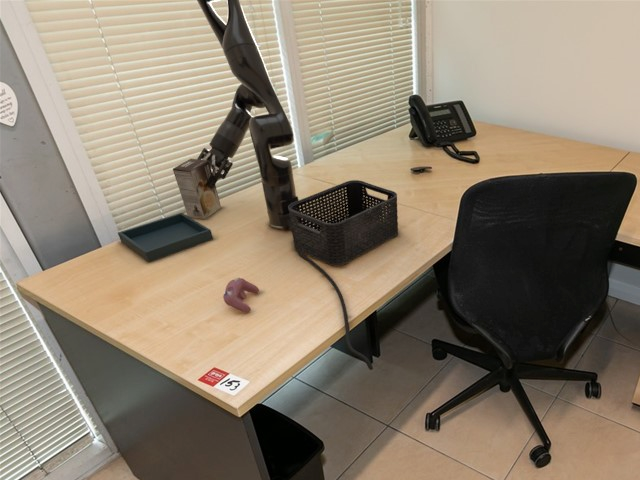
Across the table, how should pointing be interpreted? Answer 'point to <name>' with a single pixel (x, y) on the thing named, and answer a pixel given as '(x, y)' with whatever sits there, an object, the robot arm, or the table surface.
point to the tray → (165, 236)
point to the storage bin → (343, 222)
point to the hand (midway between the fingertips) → (201, 183)
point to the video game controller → (238, 294)
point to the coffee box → (197, 188)
